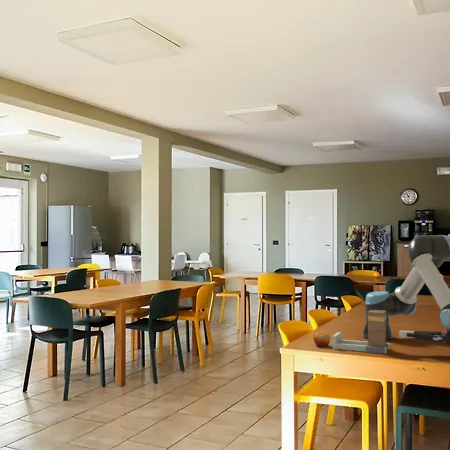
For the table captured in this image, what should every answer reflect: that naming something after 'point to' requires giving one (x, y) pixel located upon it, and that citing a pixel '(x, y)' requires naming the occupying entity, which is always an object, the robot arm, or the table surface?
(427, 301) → the table surface
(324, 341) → the fruit
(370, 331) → the block
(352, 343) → the chute
